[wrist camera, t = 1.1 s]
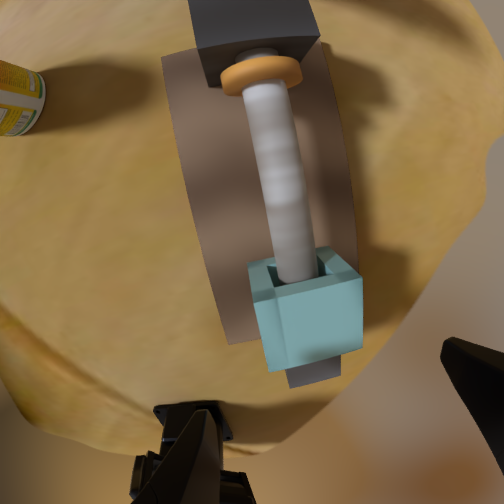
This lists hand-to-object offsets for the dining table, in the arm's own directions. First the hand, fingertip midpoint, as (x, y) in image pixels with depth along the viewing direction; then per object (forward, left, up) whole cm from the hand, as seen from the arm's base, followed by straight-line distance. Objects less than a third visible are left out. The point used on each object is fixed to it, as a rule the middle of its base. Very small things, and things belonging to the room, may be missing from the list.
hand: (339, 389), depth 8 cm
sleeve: (0, 0, -9) cm, 9 cm away
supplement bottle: (+18, +17, -12) cm, 27 cm away
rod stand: (+6, 0, -11) cm, 13 cm away
